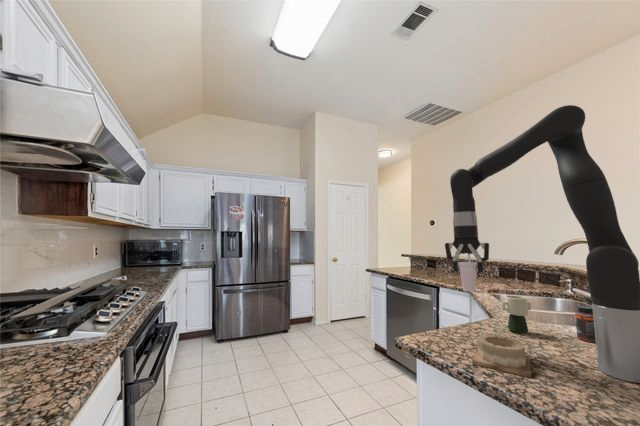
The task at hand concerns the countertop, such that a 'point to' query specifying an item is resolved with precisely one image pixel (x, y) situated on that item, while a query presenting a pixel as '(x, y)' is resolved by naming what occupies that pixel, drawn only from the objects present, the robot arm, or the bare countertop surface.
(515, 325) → the character mug
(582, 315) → the supplement bottle
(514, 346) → the bottle holder
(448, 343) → the countertop surface
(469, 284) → the smoothie
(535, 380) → the countertop surface
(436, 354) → the countertop surface
